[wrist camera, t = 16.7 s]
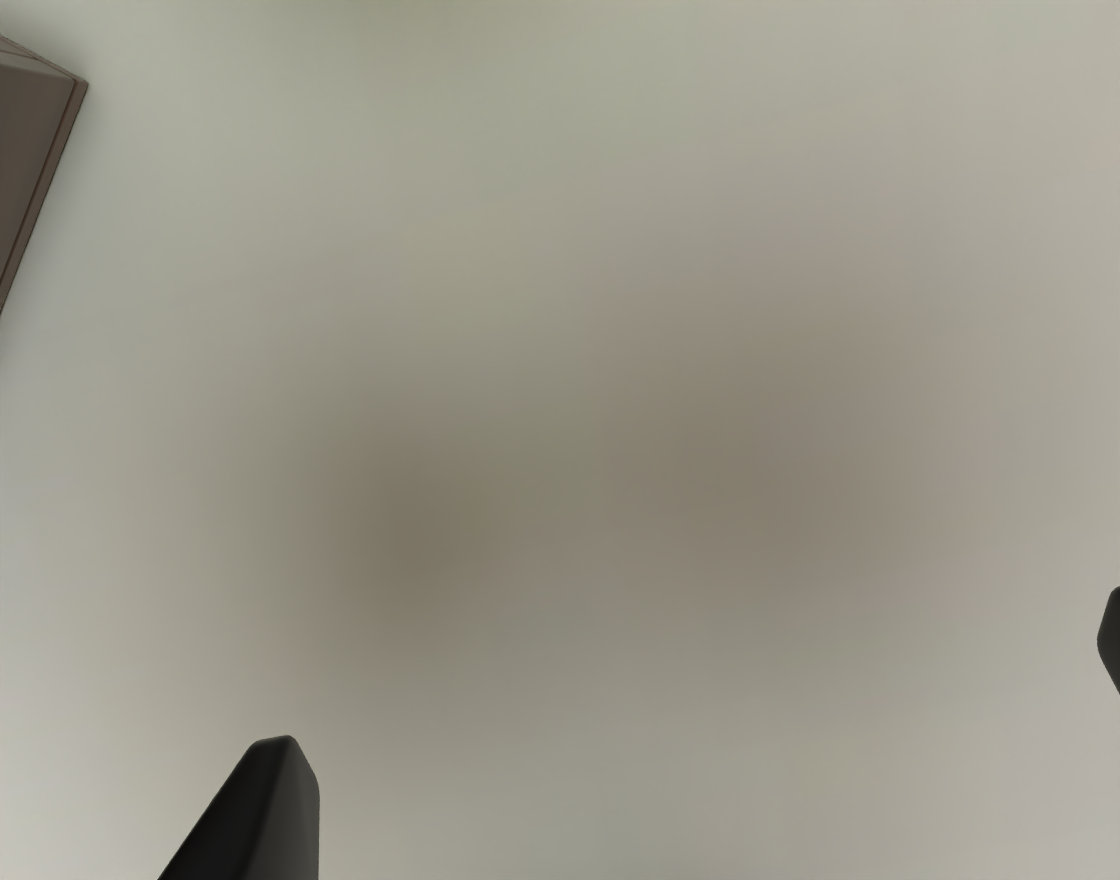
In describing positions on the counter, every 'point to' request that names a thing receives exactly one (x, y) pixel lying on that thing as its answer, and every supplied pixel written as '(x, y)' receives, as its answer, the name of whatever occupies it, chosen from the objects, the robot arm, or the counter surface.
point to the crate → (29, 143)
